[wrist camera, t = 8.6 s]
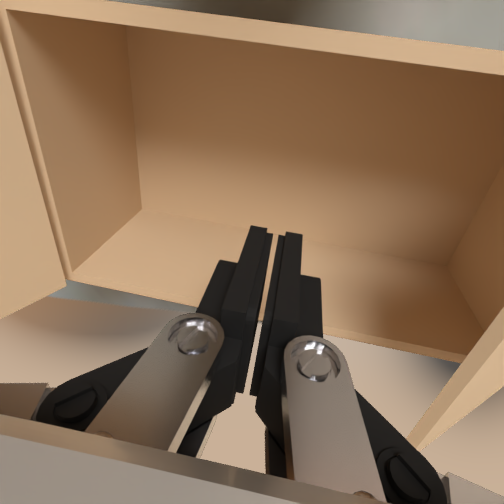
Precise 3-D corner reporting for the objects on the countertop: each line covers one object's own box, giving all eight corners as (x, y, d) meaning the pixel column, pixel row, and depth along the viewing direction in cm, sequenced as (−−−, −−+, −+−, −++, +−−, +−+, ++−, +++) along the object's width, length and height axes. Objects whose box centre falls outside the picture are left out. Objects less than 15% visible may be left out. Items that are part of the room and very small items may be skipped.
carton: (562, 66, 16) (764, 83, 9) (447, 271, 24) (505, 375, 16) (119, 9, 19) (-17, -16, 11) (139, 213, 26) (65, 281, 18)
